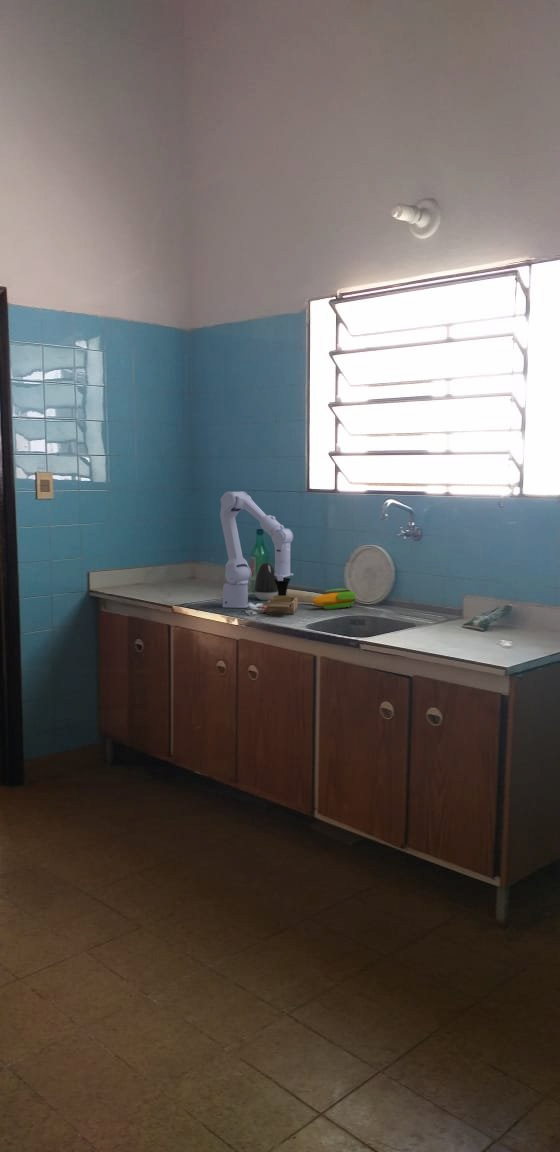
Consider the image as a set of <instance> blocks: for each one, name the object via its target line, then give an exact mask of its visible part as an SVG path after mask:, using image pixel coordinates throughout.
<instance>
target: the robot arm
mask: <svg viewBox="0 0 560 1152" xmlns="http://www.w3.org/2000/svg"><path fill="white" fill-rule="evenodd" d="M220 505H221V506H220V512H219V518H220V521H221V522H220V523H221V527H222V532H223V536H224V537H223V538H224V541H225V543H224V544H225V547H226V548H225V549H226V554H227V558H228V560H227V562H226V563H225V566H224V567H225V573H224V576H225V580H226V581H227V583H224V584H223V586H222V587H223V588H222V608H227V609H228V608H233V609H234V608H235V609H237V608H238V609H247V608H249V607H250V605H251V604H250V603H249V601H248V600H249V599H248V598H249V597H248V596H249V595H248V594H249V593H248V592H249V590H248V589H249V581H250V580H251V578H252V570H251V567H250V566H249V563H248V561H247V560H246V559H245V558H244V557H243V551H242V546H241V542H240V541H241V540H240V537H239V536H240V535H239V531H238V526H237V521H236V517H237V516H238V514H239V513H240V512H241V511H242V510H245V511H247V512H248V513H249V514H250V515H251V516H253V517H254V519H256V520H258V522H259V525H260V528H261V529H262V530H263V531H265V533H266V534H268V536H270V538H271V541H272V543H273V547H274V570H275V573H274V576H276V577H277V579H274V581H275V583H276V585H277V589H278V594H277V595H278V596H287V593H288V592H287V591H288V587H289V584H290V582H291V578H288V577H291V576H294V573H293V572H292V573H291V543H293V541H294V533H293V532H292V529H290V528H285V526H284V525H283V524H281V523H280V522H278V520H277V519H276V518H277V517H275V515H271V514H269V515H267V514H266V513H265V511H263V510H262V509H261V508H260V507H259V506H258V505H257V504H256V503H255V501H254V500H253V499H252V496H250V495H248V493H247V492H246V491H242V490H240V491H229V490H228V491H226V492H224V493H223V495H222V496H221V498H220ZM286 577H287V578H286Z"/></svg>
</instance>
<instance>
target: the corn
mask: <svg viewBox="0 0 560 1152" xmlns="http://www.w3.org/2000/svg"><path fill="white" fill-rule="evenodd" d="M324 592H325V593H324V594H321V595H318V596H315V597H314V598H313V599H312V601H311V603H312V604H313V605H314V606H320V607H322V608H323V609H325V610H339V608H342V609H347V608H346V607H349V608H350V607H352V606H353V604H354V603H355V600H356V594H355V592H353V591H351V590H350V589H348V588H341V587H340V588H334V589H333V588H332V589H328V590H325V591H324ZM326 592H327V593H326Z"/></svg>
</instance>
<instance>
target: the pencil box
mask: <svg viewBox="0 0 560 1152" xmlns="http://www.w3.org/2000/svg"><path fill="white" fill-rule="evenodd" d="M272 601H274V597H271V598H270V599H269V600H266V606H265V607H266V609H265V610H266V613H265V614H266V615H283V616H285V615H287V616H288V615H289V616H291V615H292V616H293V615H295V613H296V612H297V611H298V609H299V597H298V596H296V597H295V596H290V601H291V606H290V607H289V608H288V609H276V608H268V606H269V605H270V603H271V602H272Z"/></svg>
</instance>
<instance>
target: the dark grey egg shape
mask: <svg viewBox="0 0 560 1152" xmlns="http://www.w3.org/2000/svg"><path fill="white" fill-rule="evenodd" d="M274 573H275V566H273V564H272V563H270V562H267V561H266V562H263V563H261V564H260V566H259V567H258V569H257V572H256V574H255V579H254V584H253V592H254V595H255V597H256V598H257V599H258V600H260V601H268V600H269V599H270V598H271V597H274V596H278V595H279V594H278V589H277V585H276V583H275V581H274V579H278V577H276V576H274Z"/></svg>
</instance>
